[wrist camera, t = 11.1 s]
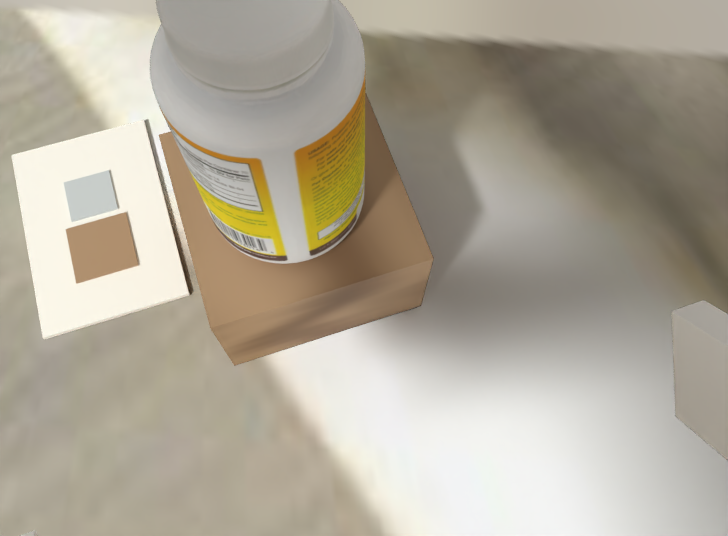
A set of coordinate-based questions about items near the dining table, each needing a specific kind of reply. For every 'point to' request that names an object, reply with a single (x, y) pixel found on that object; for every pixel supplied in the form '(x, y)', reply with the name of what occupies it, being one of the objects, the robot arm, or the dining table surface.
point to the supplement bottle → (267, 118)
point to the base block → (308, 265)
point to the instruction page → (97, 229)
